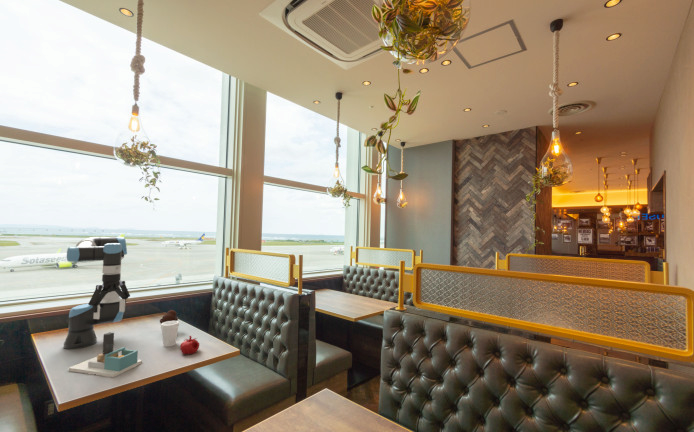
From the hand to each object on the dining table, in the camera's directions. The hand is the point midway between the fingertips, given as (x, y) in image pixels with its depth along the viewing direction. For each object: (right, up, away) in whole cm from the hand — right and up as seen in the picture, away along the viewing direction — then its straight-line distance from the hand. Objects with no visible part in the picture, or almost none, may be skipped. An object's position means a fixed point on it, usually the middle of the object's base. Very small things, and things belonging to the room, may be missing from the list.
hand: (109, 315), depth 158 cm
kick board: (0, -26, -1) cm, 26 cm away
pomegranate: (+32, -28, +19) cm, 46 cm away
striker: (0, -24, -1) cm, 24 cm away
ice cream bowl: (+1, -28, +50) cm, 57 cm away
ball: (+8, -22, -3) cm, 24 cm away
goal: (+8, -25, -3) cm, 26 cm away
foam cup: (+14, -28, +30) cm, 43 cm away
